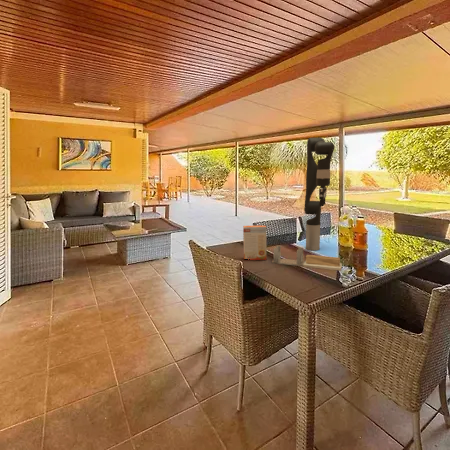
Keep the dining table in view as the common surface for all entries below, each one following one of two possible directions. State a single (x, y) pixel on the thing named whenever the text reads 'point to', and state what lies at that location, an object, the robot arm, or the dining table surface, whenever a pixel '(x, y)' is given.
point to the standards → (286, 261)
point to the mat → (323, 266)
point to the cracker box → (254, 242)
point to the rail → (323, 260)
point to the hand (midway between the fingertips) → (322, 205)
